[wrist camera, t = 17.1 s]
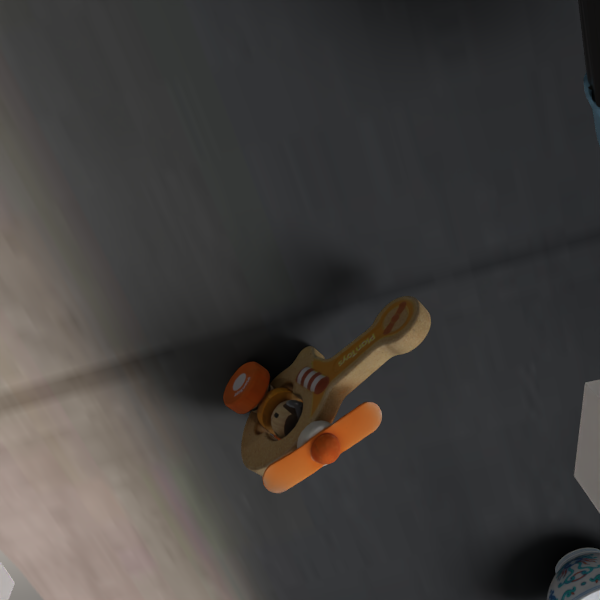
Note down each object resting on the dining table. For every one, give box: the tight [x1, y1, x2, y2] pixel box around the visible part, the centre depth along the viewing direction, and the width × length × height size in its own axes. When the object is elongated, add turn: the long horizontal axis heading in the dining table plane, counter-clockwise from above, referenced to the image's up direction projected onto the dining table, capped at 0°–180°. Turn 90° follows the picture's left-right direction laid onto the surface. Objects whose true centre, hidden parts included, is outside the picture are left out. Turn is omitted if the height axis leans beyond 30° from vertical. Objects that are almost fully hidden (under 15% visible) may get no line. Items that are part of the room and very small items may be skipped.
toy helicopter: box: [223, 296, 431, 493], centre depth 46 cm, size 8×21×14 cm, turn 134°
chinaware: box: [547, 548, 600, 600], centre depth 70 cm, size 15×15×8 cm
